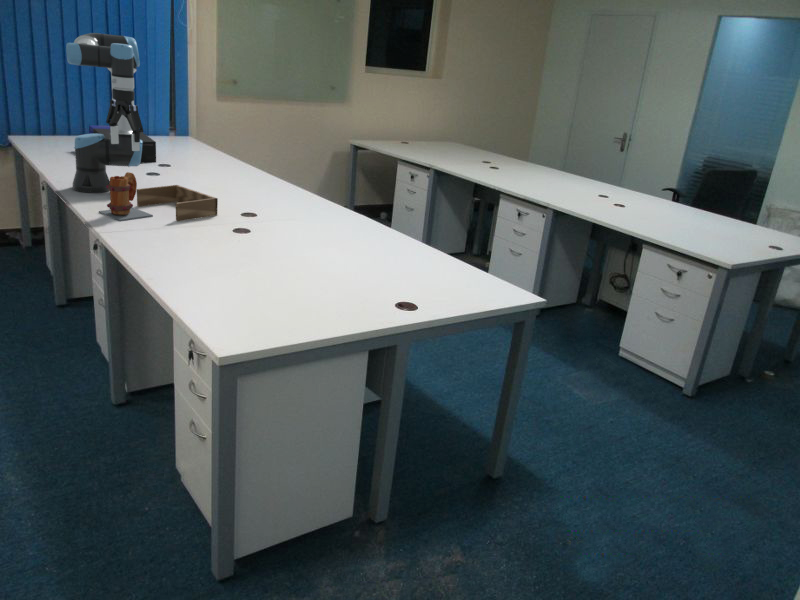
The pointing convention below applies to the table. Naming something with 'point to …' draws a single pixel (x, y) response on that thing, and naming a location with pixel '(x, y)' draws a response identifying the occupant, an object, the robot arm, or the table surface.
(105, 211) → the rubber mat
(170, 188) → the wooden boards
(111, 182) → the mug
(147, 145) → the headphone box
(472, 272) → the table surface
